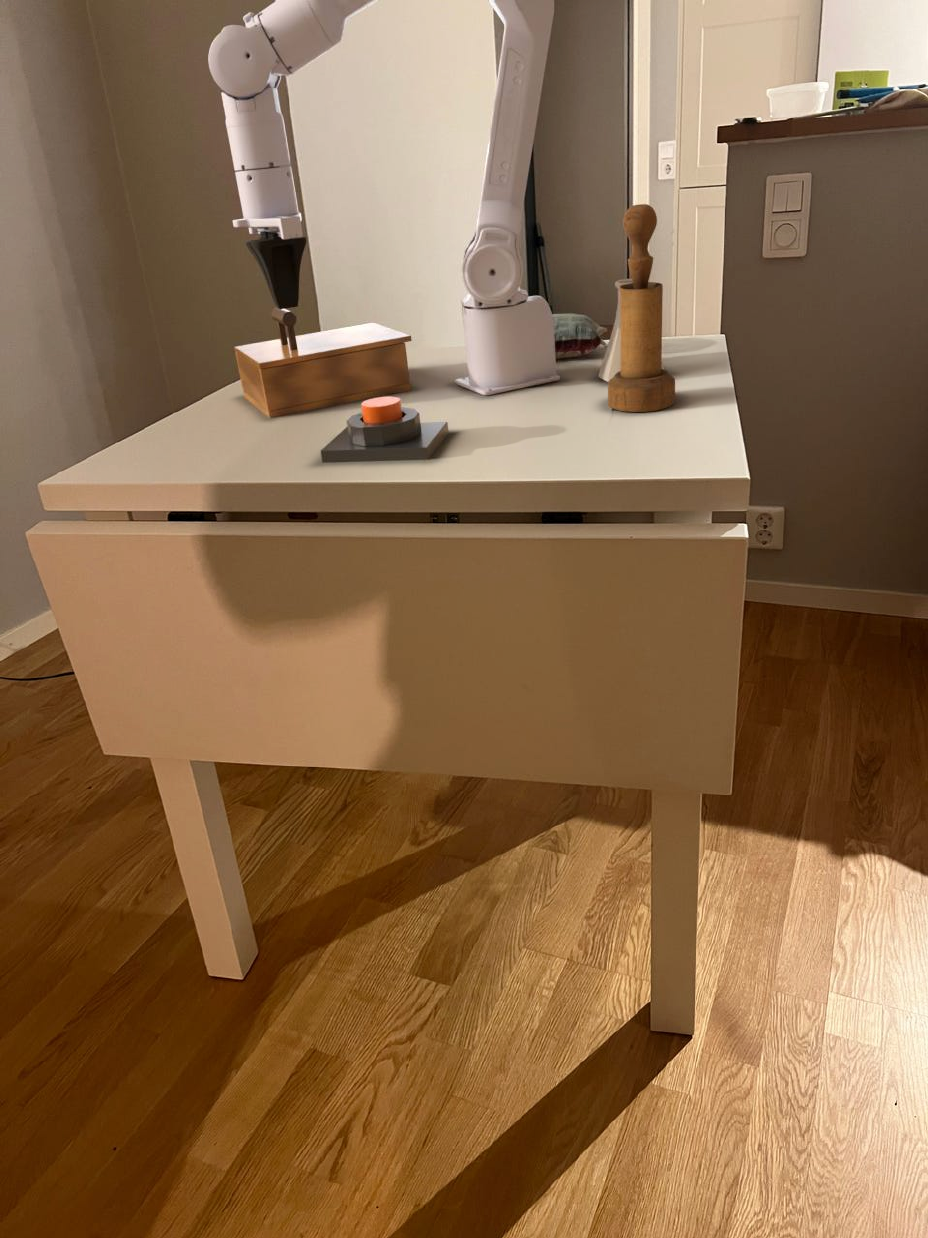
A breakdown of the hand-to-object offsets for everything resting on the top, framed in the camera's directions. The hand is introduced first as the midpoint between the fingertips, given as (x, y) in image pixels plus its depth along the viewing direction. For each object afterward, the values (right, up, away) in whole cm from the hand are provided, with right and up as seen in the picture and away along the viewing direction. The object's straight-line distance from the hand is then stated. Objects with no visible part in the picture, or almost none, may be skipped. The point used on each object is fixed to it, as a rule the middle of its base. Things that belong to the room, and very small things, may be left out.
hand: (287, 307), depth 100 cm
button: (+12, -16, -16) cm, 25 cm away
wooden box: (+3, -7, +8) cm, 11 cm away
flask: (+38, -7, +1) cm, 38 cm away
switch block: (+12, -18, -14) cm, 26 cm away
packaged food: (+31, -1, +14) cm, 34 cm away
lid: (+3, -3, +5) cm, 7 cm away
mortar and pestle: (+37, -13, -9) cm, 40 cm away
